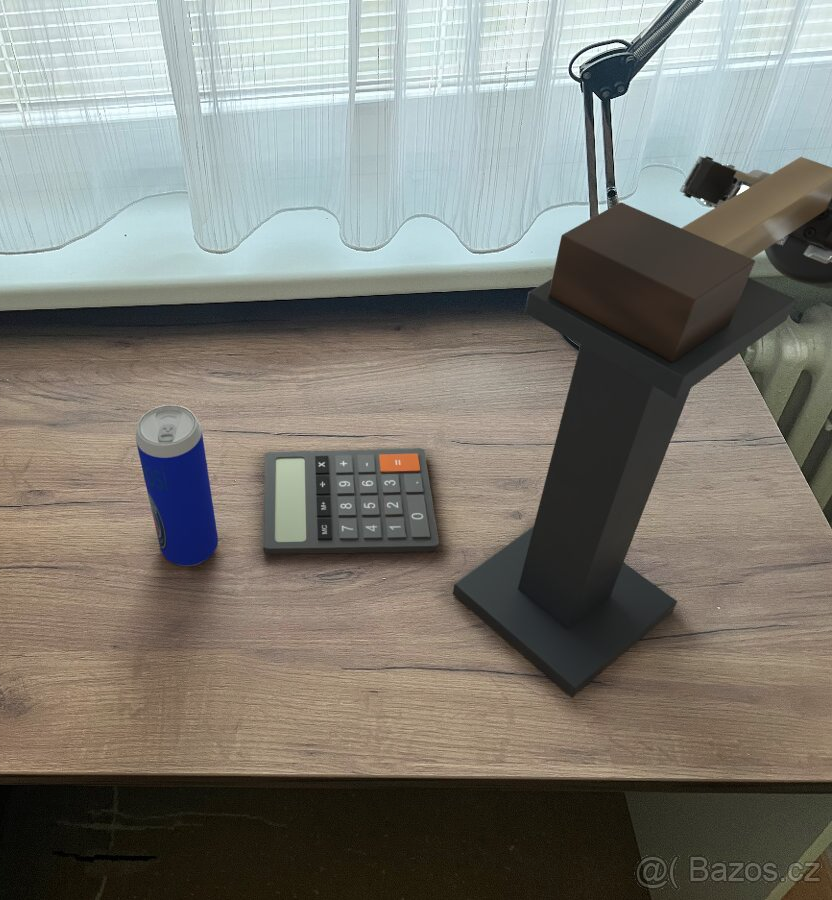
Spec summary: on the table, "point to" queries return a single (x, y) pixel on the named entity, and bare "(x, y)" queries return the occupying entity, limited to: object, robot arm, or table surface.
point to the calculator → (348, 502)
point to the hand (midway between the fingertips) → (766, 202)
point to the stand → (600, 494)
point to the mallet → (681, 260)
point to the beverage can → (177, 483)
